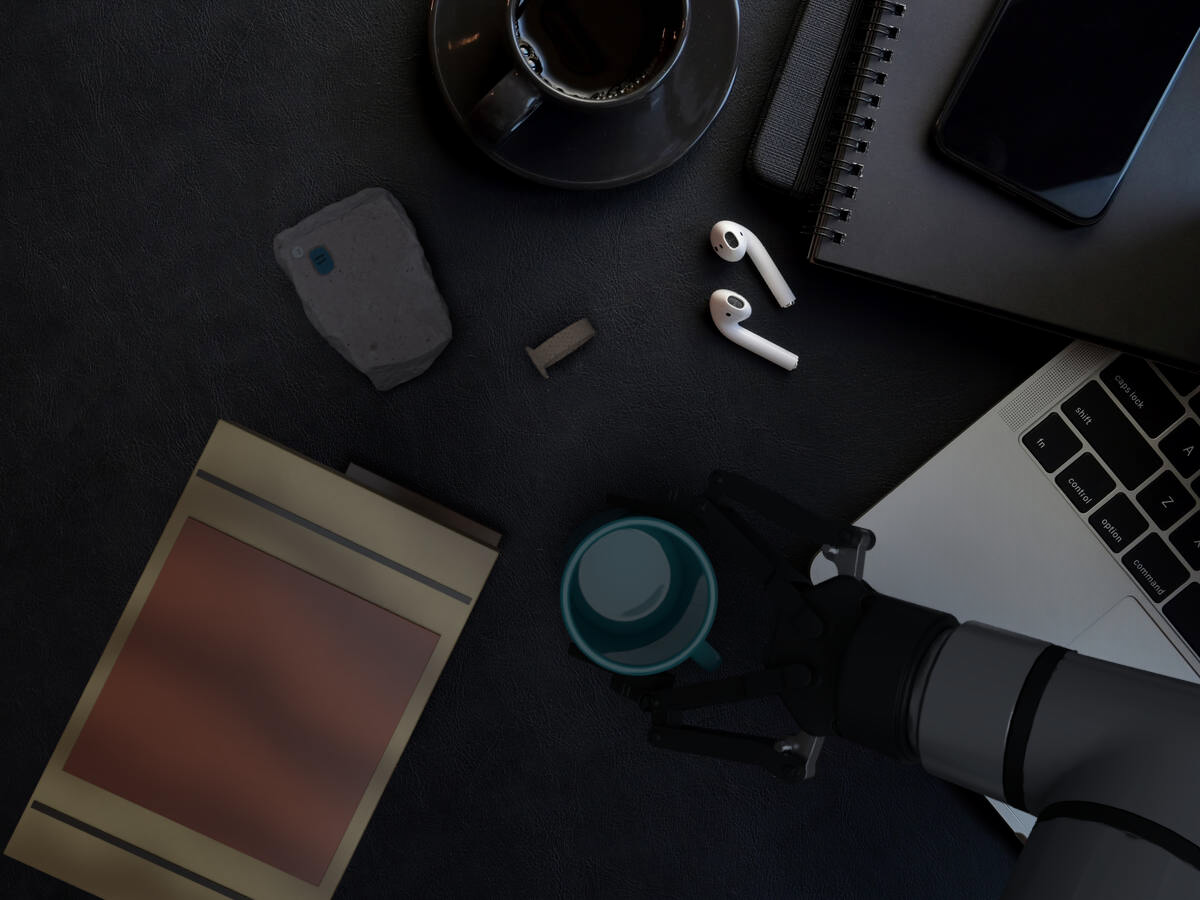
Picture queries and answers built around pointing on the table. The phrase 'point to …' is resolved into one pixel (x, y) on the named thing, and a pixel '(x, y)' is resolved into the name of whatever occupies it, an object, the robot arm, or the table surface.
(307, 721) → the board
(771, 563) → the robot arm
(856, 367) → the table surface
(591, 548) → the cup
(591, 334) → the flanged peg
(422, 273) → the decorative stone
